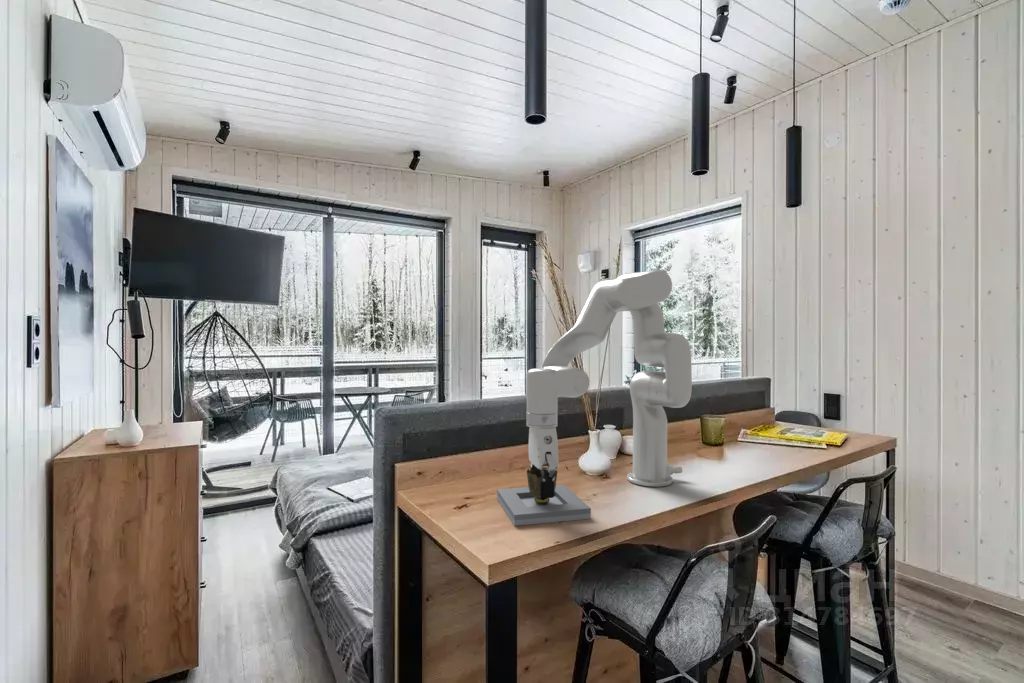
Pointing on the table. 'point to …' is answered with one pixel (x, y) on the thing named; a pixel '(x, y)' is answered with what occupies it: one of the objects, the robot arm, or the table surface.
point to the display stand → (542, 506)
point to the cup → (538, 484)
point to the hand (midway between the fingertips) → (541, 491)
